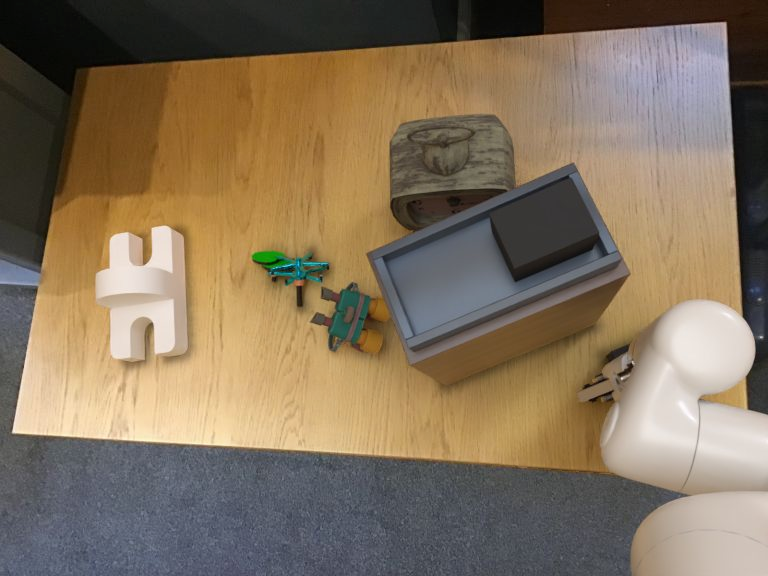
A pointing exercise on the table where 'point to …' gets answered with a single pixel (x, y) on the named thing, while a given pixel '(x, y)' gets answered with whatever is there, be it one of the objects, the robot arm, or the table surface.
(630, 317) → the table surface
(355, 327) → the binoculars
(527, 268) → the dark grey block
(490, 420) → the table surface
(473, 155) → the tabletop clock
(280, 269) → the stick construction toy
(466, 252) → the brown and grey box
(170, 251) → the white slotted bracket
